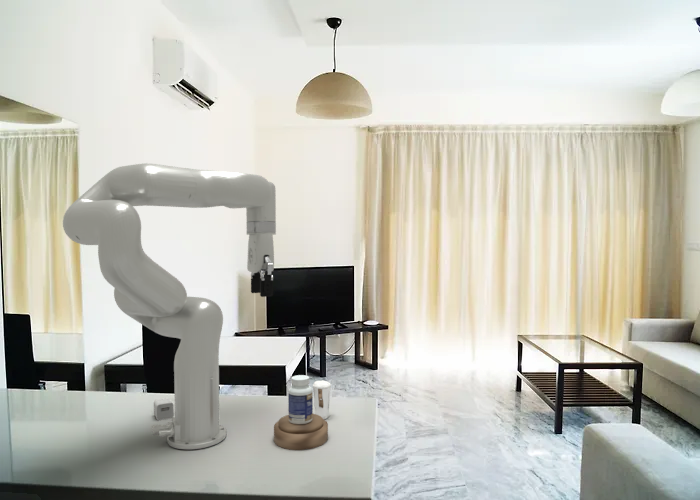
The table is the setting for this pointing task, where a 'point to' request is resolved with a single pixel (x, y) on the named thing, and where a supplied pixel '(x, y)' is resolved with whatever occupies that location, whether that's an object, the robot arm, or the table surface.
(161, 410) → the usb wall charger
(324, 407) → the milkshake
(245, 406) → the table surface
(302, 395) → the pill bottle
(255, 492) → the table surface
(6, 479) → the table surface
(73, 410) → the table surface
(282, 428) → the walnut stand
